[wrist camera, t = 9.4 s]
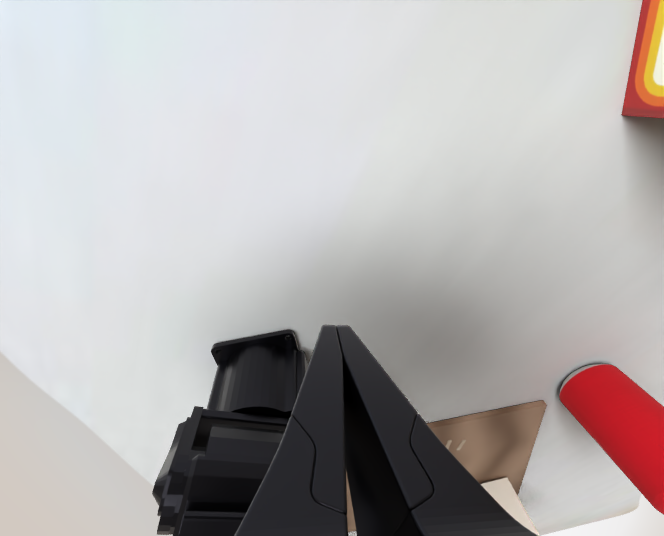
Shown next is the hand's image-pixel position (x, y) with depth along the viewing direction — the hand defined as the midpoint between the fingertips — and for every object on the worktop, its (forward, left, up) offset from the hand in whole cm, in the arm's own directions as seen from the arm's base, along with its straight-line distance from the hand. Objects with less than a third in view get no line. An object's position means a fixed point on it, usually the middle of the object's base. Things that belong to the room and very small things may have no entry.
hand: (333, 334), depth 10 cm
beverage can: (+25, -23, -12) cm, 36 cm away
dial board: (+9, -35, -12) cm, 38 cm away
